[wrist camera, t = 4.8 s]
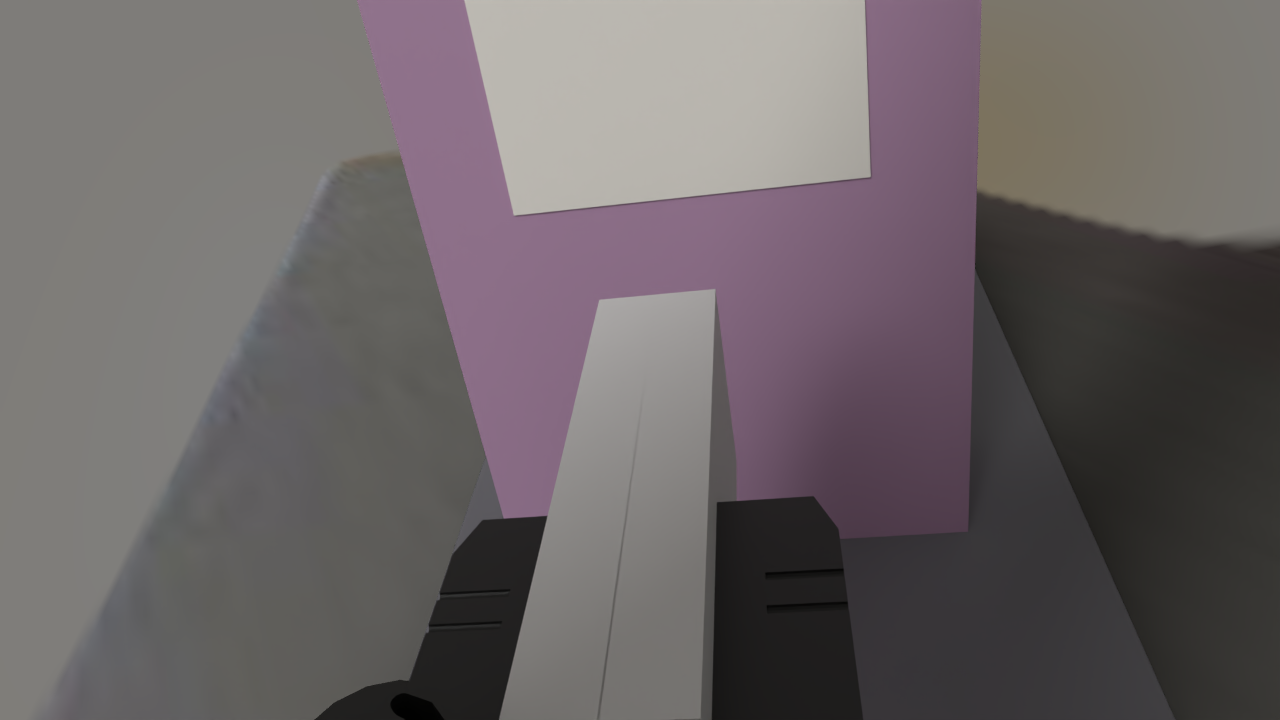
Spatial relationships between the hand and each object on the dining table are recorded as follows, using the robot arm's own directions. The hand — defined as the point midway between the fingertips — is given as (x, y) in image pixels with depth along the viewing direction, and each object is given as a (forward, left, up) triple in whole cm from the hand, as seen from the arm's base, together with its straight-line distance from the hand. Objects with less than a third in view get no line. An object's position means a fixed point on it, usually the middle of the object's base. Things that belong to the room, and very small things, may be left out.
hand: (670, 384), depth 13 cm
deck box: (-6, -5, -8) cm, 11 cm away
